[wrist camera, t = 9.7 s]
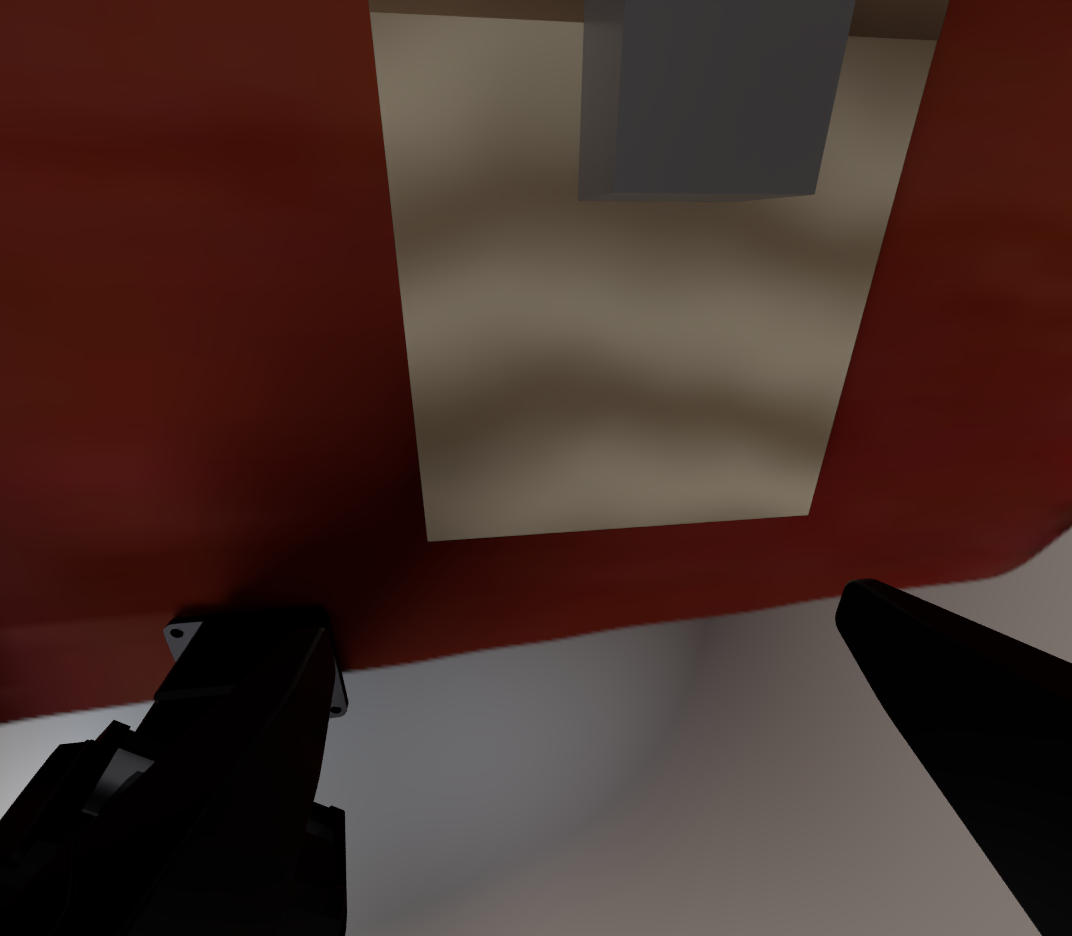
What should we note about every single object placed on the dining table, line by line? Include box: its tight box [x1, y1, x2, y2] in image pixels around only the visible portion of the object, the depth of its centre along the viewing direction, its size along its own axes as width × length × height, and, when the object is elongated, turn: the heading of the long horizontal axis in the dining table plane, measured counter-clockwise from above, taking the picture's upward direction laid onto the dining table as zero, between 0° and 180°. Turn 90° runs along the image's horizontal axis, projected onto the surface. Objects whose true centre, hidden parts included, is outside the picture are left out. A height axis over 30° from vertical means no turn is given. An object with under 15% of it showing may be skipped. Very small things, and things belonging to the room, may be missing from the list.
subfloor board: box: [368, 0, 949, 542], centre depth 16 cm, size 22×16×2 cm
